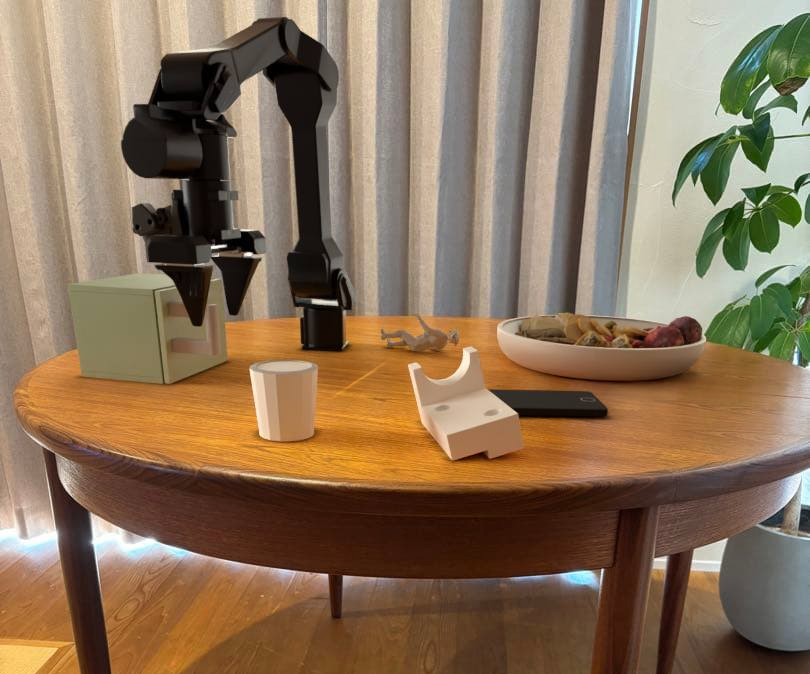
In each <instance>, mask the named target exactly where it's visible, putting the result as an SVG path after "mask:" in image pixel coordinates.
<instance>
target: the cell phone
mask: <svg viewBox="0 0 810 674" xmlns="http://www.w3.org/2000/svg"><path fill="white" fill-rule="evenodd" d="M487 389H488V390H489V391H490V392H491V393H493V394H494V395H495V396H496V397H498V398H499V399H500V400H501V401H503V402H504V403H505V404H507V405H508V406H509V407H510V408H512V409H513V410H514V411H515V412H517V413H518V416H557V417H558V416H559V417H560V416H561V417H603V418H604V417H607V416H608V413H609V408H608V407H607V405H605V404H604V403H603V402H602V401H601V400H600V399H599V398H598V397H597V396H596V395H595V394H594V393H593V392H592V391H588V390H557V389H556V390H551V389H549V390H546V389H496V388H494V389H491V388H487Z"/></svg>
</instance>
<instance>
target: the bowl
mask: <svg viewBox="0 0 810 674" xmlns="http://www.w3.org/2000/svg"><path fill="white" fill-rule="evenodd" d="M496 330H497V331H496V337H497V342H498V345H499V346H498V347H499V348H500V350H501V352H502V353H503V355H505V356H506V358H508V359H509V360H510V361H512V362H513V363H515V364H517V365H519V366H521V367H523V368H526V369H529V370H532V371H536V372H540V373H543V374H547V375H553V376H559V377H563V378H565V377H566V378H572V379H579V380H580V379H581V380H591V381H604V382H605V381H607V382H609V381H612V382H634V381H635V382H637V381H651V380H659V379H664V378H665V379H666V378H671V377H673V376H676V375H679V374H681V373H684V372H686V371H688V370H689V369H690V368H692V367H694V365H696V363H697V362H698V361H699V360H700V359H701V357H702V355H703V354H704V351H705V348H706V343H707V337H706V335H705V334H703V327H702V325H701V323H700V322H699V321H698V320H697V319H695V318H693V317H691V316H689V315H688V316H687V315H684V316H681V317H676V318H675V319H674V320H672V321H671V322H669V323H667V322H663V321H655V320H649V319H640V318H631V317H621V316H608V315H594V314H593V315H591V314H589V315H588V314H578V313H577V314H576V313H575V314H573V313H571V312H568V311H566V312H564V313H563V312H559V313H556V314H543V315H540V314H535V315H530V316H521V317H515V318H509V319H505V320H503V321H501V322H500V323H498V324H497V329H496Z"/></svg>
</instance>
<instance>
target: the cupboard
mask: <svg viewBox="0 0 810 674" xmlns="http://www.w3.org/2000/svg"><path fill="white" fill-rule="evenodd" d="M213 279H216V277H214V276H212V277H211V280H213ZM172 287H176V286H175V284H174V282H173V280H172V279H171V278H170V277H169V276H167V275H166V274H163V273H162V274H161V273H142V272H138V273H137V272H136V273H130V274H125V275H124V274H123V275H118V276H111V277H105V278H100V279H99V278H98V279H93V280H86V281H80V282H74V283H67V290H68V296H69V303H70V311H71V315H72V316H71V317H72V322H73V323H72V324H73V328H74V336H75V340H76V349H77V355H78V361H79V368H80V374H81V377H86V378H96V379H97V378H98V379H107V380H117V381H118V380H119V381H128V382H137V383H138V382H139V383H149V384H161V385H164V384H166V383H165V379H164V370H163V361H162V352H161V343H160V333H159V324H158V315H157V306H156V297H155V291H157V290H162V289H167V288H172Z"/></svg>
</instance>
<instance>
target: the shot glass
mask: <svg viewBox="0 0 810 674" xmlns="http://www.w3.org/2000/svg"><path fill="white" fill-rule="evenodd" d="M318 374H319V365H318V364H316V363H314V362H310V361H306V360H297V359H296V360H295V359H275V360H273V359H272V360H265V361H259V362H255V363H253V364H251V365H249V375H250V381H251V382H250V383H251V388H252V394H253V400H254V406H255V407H254V408H255V414H256V421H257V426H258V433H259V436H260V437H261V438H262V439H265V440H268V441H272V442H273V441H274V442H298V441H304V440H306V439H310V438H311V437H313V436H314V435H315V423H316V408H317V392H318V377H319V375H318Z"/></svg>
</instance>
